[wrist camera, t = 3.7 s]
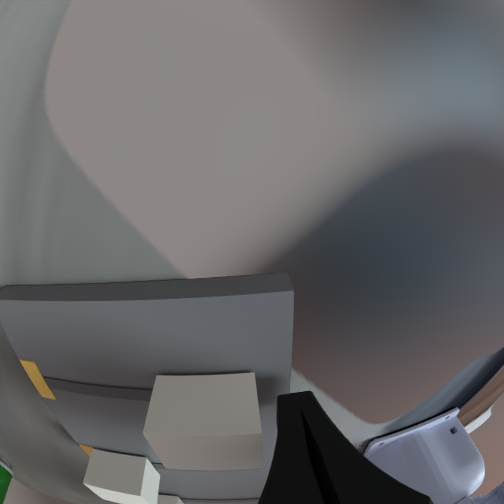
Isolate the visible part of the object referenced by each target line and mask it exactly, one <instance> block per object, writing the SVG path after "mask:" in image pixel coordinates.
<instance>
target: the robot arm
mask: <svg viewBox="0 0 504 504" xmlns="http://www.w3.org/2000/svg"><path fill="white" fill-rule="evenodd" d="M458 412H459V409H458V408H454V409H452V410H450V411H448V412H446V413H444V414H441V415H439V416H437V417H435V418H433V419H430V420H428V421H425V422H423V423H421V424H418V425H416V426H413V427H410V428H408V429H405V430H402V431H400V432H397V433H394V434H391V435H388V436H385V437H382V438H379V439H376V440H373V441H372V442H370V443H369V445H368V447H367V449H366V451H365V452H364V454H362V453H361V452H359V451H358V450H357V449H356V448H355V447H354V446H353V445H352V444H351V443H350V442H349V440H348V439H347V438H346V437H345V436H344V435H343V434H342V433H341V432H340V430H339V429H338V428H337V427H336V425H335V424H334V423H333V422H332V421H331V419H330V418H329V417H328V415H327V414H326V412H325V411H324V410H323V408H322V407H321V405H320V404H319V402H318V401H317V399H316V398H315V396H314V394H313V392H311V391H304V392H297V393H289V394H281V395H279V396H277V416H276V422H277V440H276V445H275V450H274V455H273V459H272V463H271V467H270V471H269V474H268V477H267V480H266V483H265V486H264V489H263V491H262V494H261V497H260V499H259V502H258V504H474V503H473V500H474V502H475V504H504V482H503V483H501V484H500V485H499V486H497V487H496V488H495V489H494V490H492V491H491V492H490V493H488V494H487V495H479V494H478V495H476V496H475V497H473V500H472V498H471V496H469V495H470V494H472V493H473V492H474V491H475V490H476V489H477V488H478V487H479V486H480V484H481V483H482V481H483V478H484V474H485V468H484V461H483V458H482V456H481V454H480V453H479V451H478V449H477V448H476V446H475V445H474V443H473V441H472V440H471V438H470V436H469V435H468V433H467V432H466V430H465V429H464V427H463V425H462V424H461V422H460V421H459V419H458V418H457V416H456V415H457V414H458ZM467 496H468V497H467ZM464 498H465V499H464ZM461 500H462V501H461ZM458 502H459V503H458Z"/></svg>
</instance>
